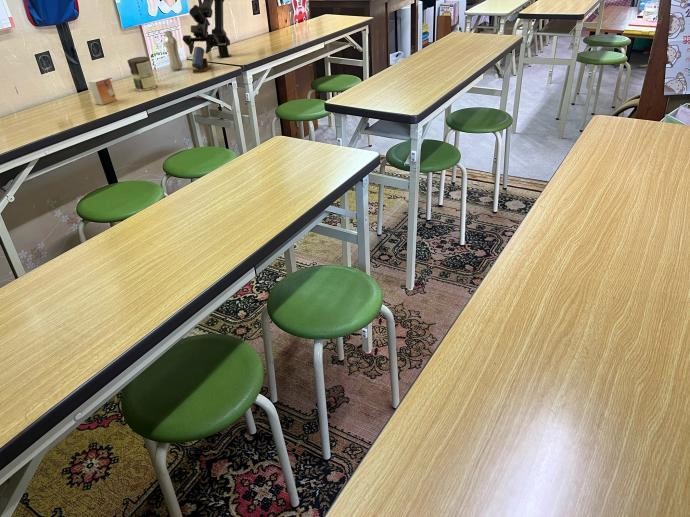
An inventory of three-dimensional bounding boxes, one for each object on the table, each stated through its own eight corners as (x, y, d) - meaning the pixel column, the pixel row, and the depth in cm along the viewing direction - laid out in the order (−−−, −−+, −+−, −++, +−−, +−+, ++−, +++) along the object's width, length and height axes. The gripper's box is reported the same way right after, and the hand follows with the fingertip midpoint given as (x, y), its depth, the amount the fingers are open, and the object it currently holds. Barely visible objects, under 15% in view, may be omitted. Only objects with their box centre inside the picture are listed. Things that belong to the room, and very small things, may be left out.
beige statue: (170, 69, 292) (160, 31, 281) (182, 67, 295) (173, 29, 284) (172, 71, 287) (162, 33, 276) (184, 69, 290) (175, 31, 279)
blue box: (200, 65, 287) (195, 45, 281) (208, 65, 286) (204, 44, 280) (191, 70, 278) (186, 49, 273) (200, 70, 277) (195, 49, 272)
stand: (199, 68, 289) (197, 57, 285) (211, 68, 287) (208, 57, 284) (193, 72, 282) (190, 61, 278) (205, 72, 280) (202, 60, 277)
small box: (102, 105, 241) (95, 82, 235) (95, 104, 244) (87, 81, 238) (117, 100, 246) (109, 77, 241) (109, 99, 249) (102, 76, 243)
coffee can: (133, 91, 257) (124, 62, 249) (138, 86, 266) (130, 57, 258) (154, 89, 258) (146, 60, 250) (158, 84, 266) (150, 55, 258)
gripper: (179, 19, 277) (175, 45, 274) (211, 17, 273) (207, 44, 270) (189, 32, 287) (185, 57, 285) (220, 30, 284) (217, 56, 281)
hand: (198, 53), depth 280 cm, fingers open, 9 cm apart
